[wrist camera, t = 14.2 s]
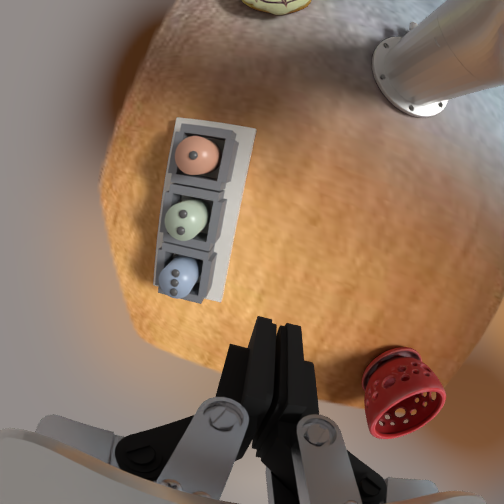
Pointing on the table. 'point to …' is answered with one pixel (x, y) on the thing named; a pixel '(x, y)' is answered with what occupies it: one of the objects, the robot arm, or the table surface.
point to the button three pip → (180, 276)
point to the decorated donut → (277, 5)
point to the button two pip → (187, 218)
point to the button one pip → (197, 155)
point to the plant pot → (400, 393)
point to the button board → (215, 195)
